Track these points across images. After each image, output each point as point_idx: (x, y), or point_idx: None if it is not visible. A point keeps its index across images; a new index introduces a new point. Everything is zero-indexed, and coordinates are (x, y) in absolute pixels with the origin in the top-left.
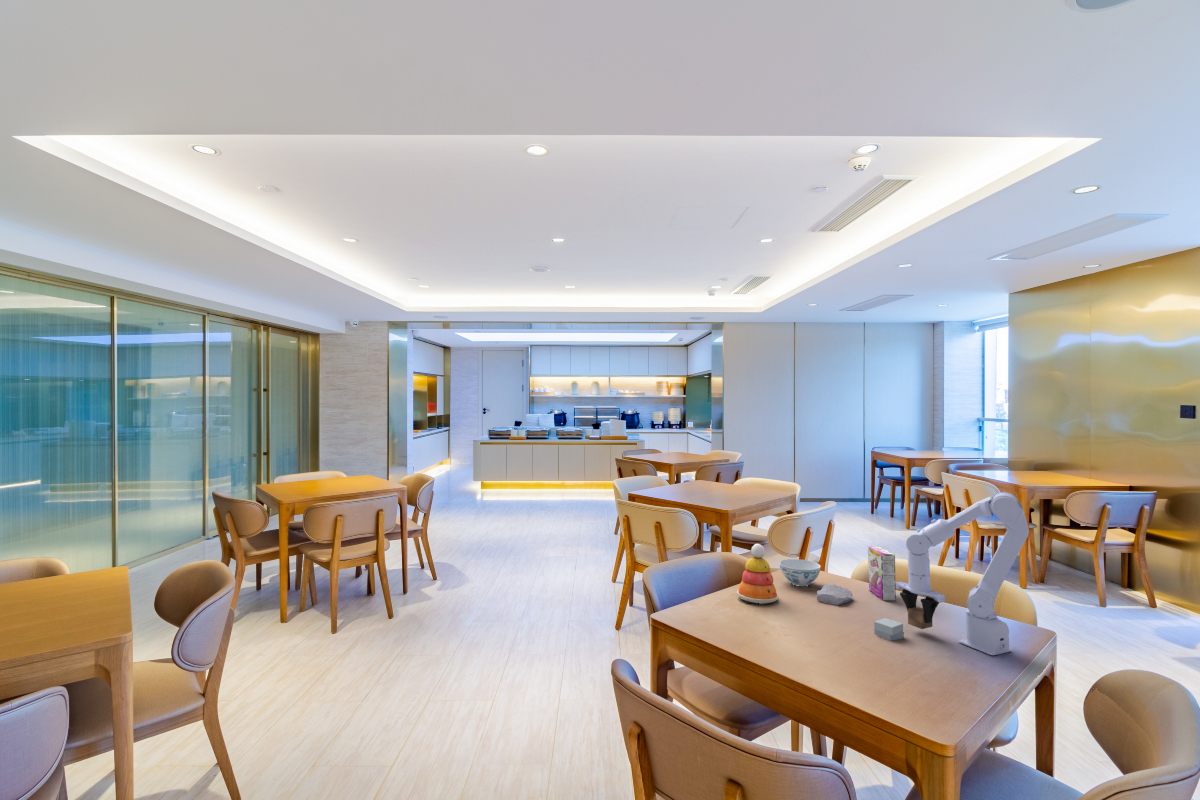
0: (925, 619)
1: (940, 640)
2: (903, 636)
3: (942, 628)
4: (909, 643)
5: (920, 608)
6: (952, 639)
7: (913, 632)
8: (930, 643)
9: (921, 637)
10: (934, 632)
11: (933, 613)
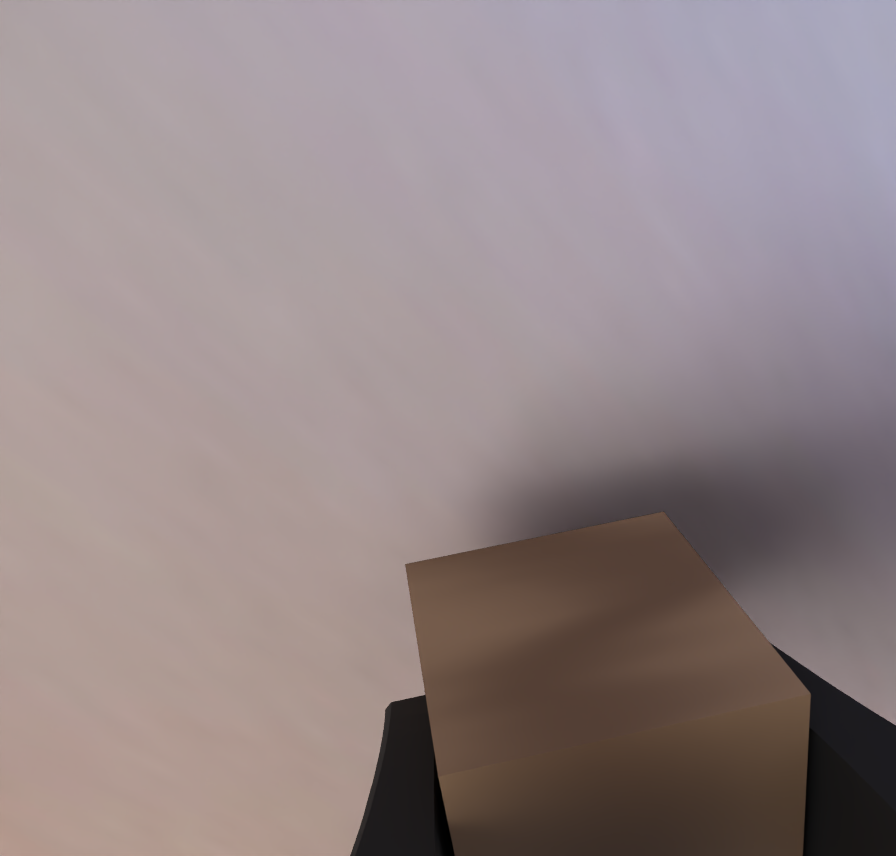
0: None
1: (779, 485)
2: None
3: (444, 54)
4: None
5: (556, 797)
6: (827, 297)
7: None
8: (788, 655)
9: None
10: (546, 348)
11: (887, 727)
